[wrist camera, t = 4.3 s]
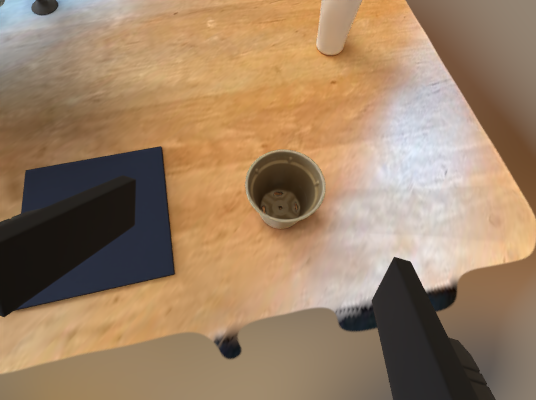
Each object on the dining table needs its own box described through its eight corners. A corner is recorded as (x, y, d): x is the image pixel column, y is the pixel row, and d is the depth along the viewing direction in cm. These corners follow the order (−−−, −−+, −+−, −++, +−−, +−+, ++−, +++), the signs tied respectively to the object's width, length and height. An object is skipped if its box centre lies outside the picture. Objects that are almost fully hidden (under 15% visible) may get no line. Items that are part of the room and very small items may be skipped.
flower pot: (290, 169, 42) (296, 137, 34) (325, 219, 39) (341, 196, 31) (237, 198, 40) (230, 170, 32) (269, 252, 37) (272, 237, 29)
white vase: (332, 65, 50) (359, -27, 36) (304, 47, 52) (320, -49, 38) (353, 46, 52) (387, -49, 38) (326, 29, 54) (348, -68, 40)
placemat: (28, 171, 41) (25, 170, 41) (162, 147, 43) (160, 146, 43) (14, 310, 34) (10, 310, 34) (174, 274, 36) (173, 274, 36)
